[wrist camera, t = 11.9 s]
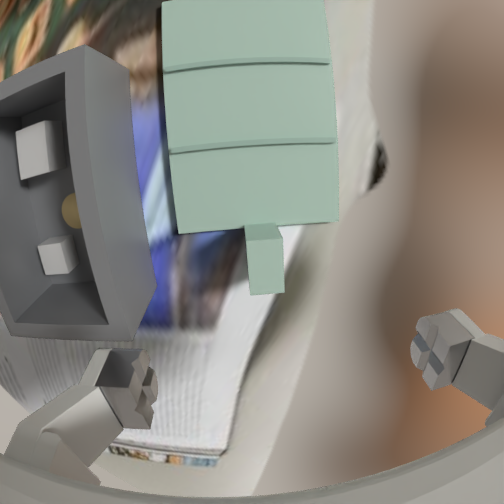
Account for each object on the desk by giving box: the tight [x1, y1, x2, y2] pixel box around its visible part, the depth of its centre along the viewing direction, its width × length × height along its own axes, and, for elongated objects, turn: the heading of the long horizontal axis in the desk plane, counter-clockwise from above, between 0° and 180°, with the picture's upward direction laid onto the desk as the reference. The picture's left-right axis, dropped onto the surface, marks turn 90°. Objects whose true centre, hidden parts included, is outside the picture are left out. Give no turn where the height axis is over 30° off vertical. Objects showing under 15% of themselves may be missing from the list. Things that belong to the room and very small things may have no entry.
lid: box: [162, 0, 339, 295], centre depth 14 cm, size 17×10×4 cm, turn 4°
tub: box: [0, 44, 157, 341], centre depth 14 cm, size 14×9×6 cm, turn 4°
